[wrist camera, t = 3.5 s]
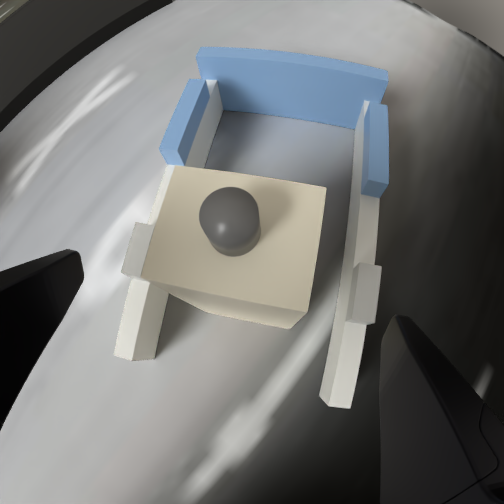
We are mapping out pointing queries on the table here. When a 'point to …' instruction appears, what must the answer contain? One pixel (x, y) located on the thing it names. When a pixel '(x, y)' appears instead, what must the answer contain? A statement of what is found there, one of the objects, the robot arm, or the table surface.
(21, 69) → the thin dark grey tray
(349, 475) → the table surface
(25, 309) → the robot arm
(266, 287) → the beige drawer with knob
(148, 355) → the sled frame
